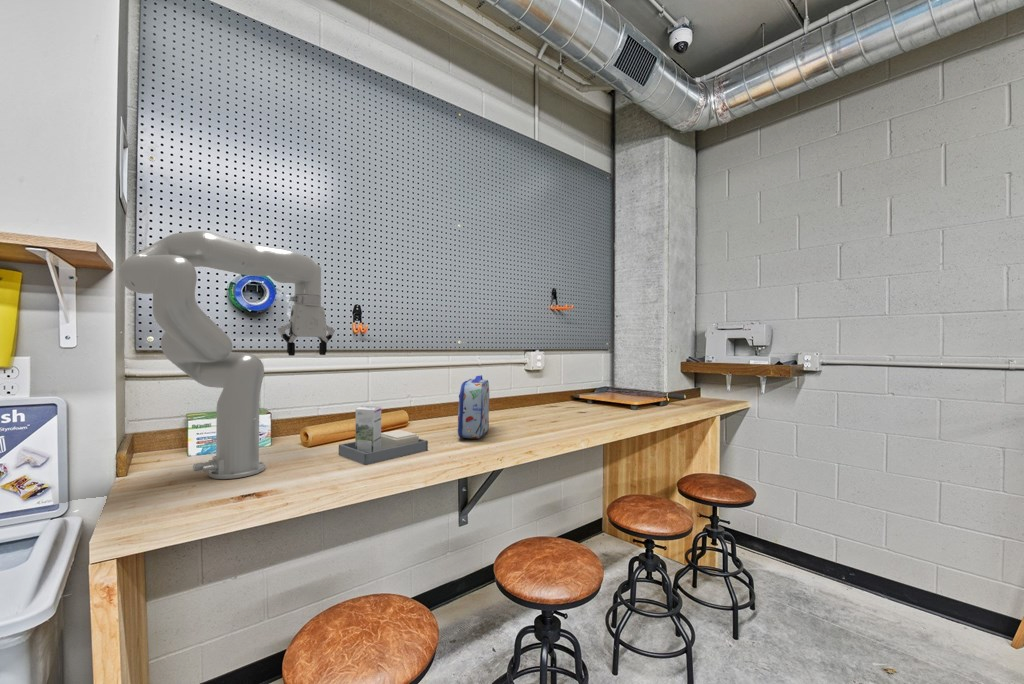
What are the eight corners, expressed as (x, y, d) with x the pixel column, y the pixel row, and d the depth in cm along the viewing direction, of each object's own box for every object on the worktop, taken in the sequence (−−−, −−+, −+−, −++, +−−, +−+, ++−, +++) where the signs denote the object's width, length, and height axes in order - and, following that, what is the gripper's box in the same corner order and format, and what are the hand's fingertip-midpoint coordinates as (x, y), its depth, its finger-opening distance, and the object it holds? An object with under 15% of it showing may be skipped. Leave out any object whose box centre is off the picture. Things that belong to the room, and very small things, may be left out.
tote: (365, 468, 116) (365, 453, 116) (338, 458, 126) (338, 444, 126) (427, 453, 132) (427, 440, 132) (399, 445, 142) (399, 433, 142)
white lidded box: (396, 454, 126) (396, 438, 126) (378, 449, 133) (378, 433, 133) (418, 449, 132) (418, 433, 132) (399, 444, 139) (400, 429, 139)
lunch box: (465, 426, 174) (465, 373, 174) (490, 427, 174) (490, 373, 174) (454, 442, 147) (455, 379, 147) (484, 443, 147) (485, 379, 147)
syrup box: (381, 453, 128) (382, 405, 128) (373, 458, 122) (373, 408, 122) (363, 452, 128) (364, 405, 128) (354, 458, 122) (354, 408, 122)
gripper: (283, 298, 126) (283, 356, 126) (339, 303, 139) (339, 355, 139) (274, 300, 131) (273, 355, 131) (328, 304, 144) (328, 354, 144)
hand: (307, 355), depth 135 cm, fingers open, 9 cm apart
